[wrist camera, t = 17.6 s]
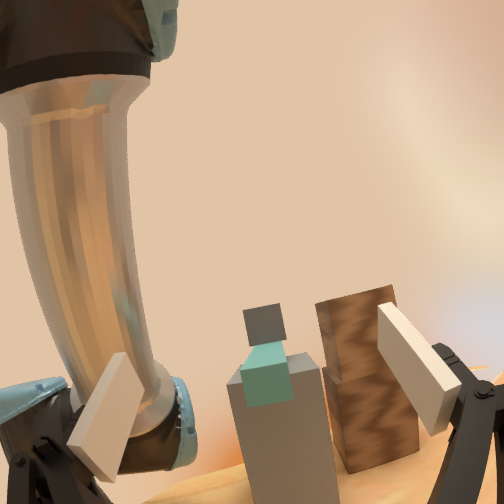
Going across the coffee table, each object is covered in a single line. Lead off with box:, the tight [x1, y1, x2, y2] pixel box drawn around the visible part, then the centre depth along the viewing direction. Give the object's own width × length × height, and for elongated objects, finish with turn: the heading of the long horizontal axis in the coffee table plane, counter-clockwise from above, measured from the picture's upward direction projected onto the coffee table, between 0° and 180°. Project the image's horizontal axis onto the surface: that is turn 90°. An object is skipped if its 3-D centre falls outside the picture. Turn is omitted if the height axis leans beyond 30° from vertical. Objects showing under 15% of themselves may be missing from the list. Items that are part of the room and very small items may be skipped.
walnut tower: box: [315, 285, 419, 474], centre depth 45 cm, size 12×14×28 cm
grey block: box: [227, 352, 340, 504], centre depth 35 cm, size 10×14×21 cm
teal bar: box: [240, 303, 294, 408], centre depth 33 cm, size 5×24×8 cm, turn 176°
